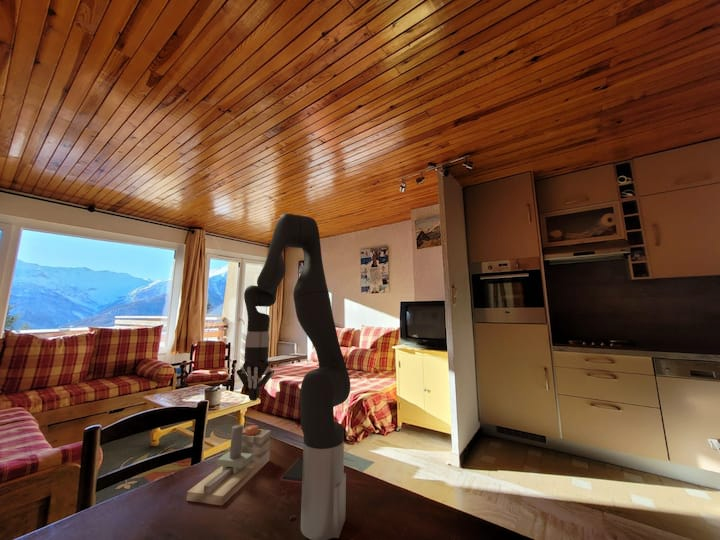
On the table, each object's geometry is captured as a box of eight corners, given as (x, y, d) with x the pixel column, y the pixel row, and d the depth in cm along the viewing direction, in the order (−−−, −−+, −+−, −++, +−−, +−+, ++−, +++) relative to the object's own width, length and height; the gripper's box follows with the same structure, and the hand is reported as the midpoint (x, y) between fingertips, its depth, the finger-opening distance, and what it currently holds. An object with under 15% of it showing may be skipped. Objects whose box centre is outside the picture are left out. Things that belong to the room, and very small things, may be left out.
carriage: (252, 465, 84) (254, 424, 86) (242, 474, 79) (244, 430, 81) (227, 462, 85) (230, 422, 87) (216, 471, 81) (219, 428, 83)
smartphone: (319, 458, 93) (302, 482, 79) (319, 460, 93) (302, 484, 79) (299, 456, 94) (279, 479, 81) (299, 458, 94) (279, 481, 80)
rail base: (269, 460, 92) (270, 430, 93) (222, 505, 69) (225, 464, 71) (240, 457, 94) (243, 427, 95) (186, 500, 71) (190, 460, 73)
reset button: (260, 435, 93) (261, 425, 93) (253, 440, 89) (254, 430, 89) (249, 434, 93) (249, 424, 94) (242, 439, 89) (242, 429, 90)
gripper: (280, 344, 98) (277, 398, 95) (245, 343, 101) (241, 396, 98) (269, 346, 91) (266, 404, 88) (232, 345, 93) (227, 402, 90)
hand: (253, 400), depth 93 cm, fingers closed
